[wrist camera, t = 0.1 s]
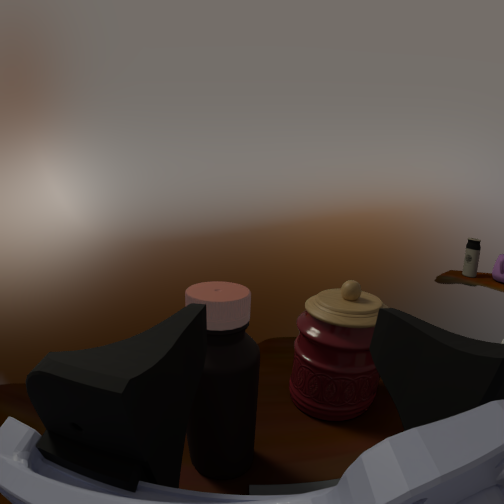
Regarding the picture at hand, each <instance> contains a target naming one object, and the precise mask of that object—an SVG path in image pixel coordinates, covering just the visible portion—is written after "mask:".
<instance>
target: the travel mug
mask: <svg viewBox="0 0 504 504" xmlns="http://www.w3.org/2000/svg"><path fill="white" fill-rule="evenodd" d="M480 241H481V240H478V239H473V238H468V243H467V245H466V253H465V260H464V266H463V272H462V274H463V275H464V276H467V277H472V278H474V277H476V274H477V268H478V261H479V255H480Z"/></svg>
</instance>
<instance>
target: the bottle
mask: <svg viewBox="0 0 504 504" xmlns="http://www.w3.org/2000/svg"><path fill="white" fill-rule="evenodd" d="M185 301H186V306H187V305H189V304H191V303H196V304H206V313H207V353H206V359H205V365H204V369H203V372H202V375H201V378H200V382H199V385H198V388H197V391H196V394H195V397H194V400H193V403H192V406H191V410H190V414H189V419H188V424H187V430H186V434H187V440H188V446H189V451H190V457H191V461H192V464H193V465H194V466H195V468H196V469H197V470H198V471H199V472H200V473H202V474H204V475H205V476H207V477H211V478H214V479H231V478H235V477H238V476H240V475H242V474H243V473H245V472H246V471H247V470H248V469H249V468H250V466H251V463H252V461H253V452H254V439H255V425H256V411H257V397H258V382H259V366H260V351H259V346H258V345H257V344H256V342H255V341H254V340H253V339H252V338H251V337H250V336H249V335H248V334H247V333H246V332H245V329H247V327H248V326H249V320H250V305H251V304H250V303H251V292H250V290H249V289H248V288H247V287H245V286H242V285H239V284H235V283H230V282H216V281H215V282H204V283H198V284H195V285H192V286H190V287H189V288H188V289H187V290H186V291H185Z"/></svg>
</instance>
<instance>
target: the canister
mask: <svg viewBox="0 0 504 504" xmlns="http://www.w3.org/2000/svg"><path fill="white" fill-rule="evenodd" d="M305 308H306V311H304V312H303V313H301V314H300V315H299V317H298V319H297V327H298V329H299V331H300V333H299V335H298V336H297V338H296V339H295V342H294V348H295V353H294V361H293V369H292V374H291V376H290V382H289V389H290V396H291V399H292V401H293V403H294V404H295V405H296V406H297V407H298V408H299V409H300V410H301V411H303V412H304V413H306V414H308V415H310V416H312V417H315V418H318V419H322V420H328V421H343V420H349V419H352V418H355V417H358V416H359V415H361V414H363V413H364V412H365V411H366V410H367V409H368V408H369V407H370V405H371V403H372V402H373V401H374V399H375V396H376V393H377V388H378V383H379V380H380V375H379V373H378V371H377V369H376V367H375V365H374V362H373V359H372V356H371V353H370V350H369V347H370V343H371V339H372V336H373V332H374V328H375V324H376V320H377V316H378V312H379V308H388V307H387V306H386V305H385V304H383V303H382V301H381V300H380V299H379V298H378V297H376V296H374V295H372V294H369V293H367V292H363V291H361V286H360V284H359V283H358V282H356V281H353V280H349V281H347V282H345V283H344V284H343V285H342V288H341V289H329V290H324V291H322V292H320V293H319V294H318V295H315V296H313V297H311V298H309V299H308V300H307V301H306V303H305Z"/></svg>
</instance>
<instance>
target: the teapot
mask: <svg viewBox="0 0 504 504" xmlns="http://www.w3.org/2000/svg"><path fill="white" fill-rule="evenodd" d="M492 276H493V279H494V280H496V281H497V282H503V283H504V254H500V255H499V256H498V258H497V260H496V263H495V265H494V268H493V272H492Z"/></svg>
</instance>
